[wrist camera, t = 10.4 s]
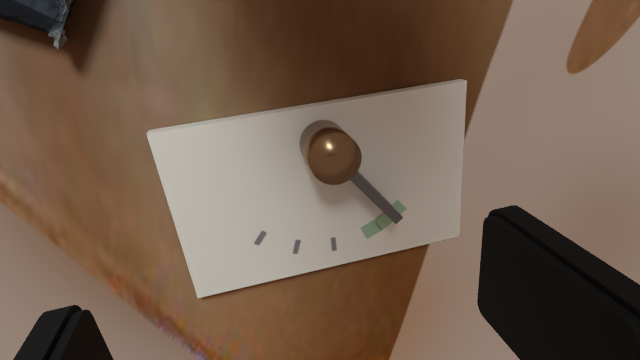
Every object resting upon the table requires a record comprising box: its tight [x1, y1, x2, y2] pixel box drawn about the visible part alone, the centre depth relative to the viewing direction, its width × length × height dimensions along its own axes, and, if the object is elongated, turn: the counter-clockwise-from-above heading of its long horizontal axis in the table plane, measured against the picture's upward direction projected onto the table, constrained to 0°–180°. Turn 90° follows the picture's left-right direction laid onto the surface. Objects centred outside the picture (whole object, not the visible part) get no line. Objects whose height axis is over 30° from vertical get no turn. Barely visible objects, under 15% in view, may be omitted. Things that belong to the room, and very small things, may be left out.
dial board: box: [147, 79, 467, 298], centre depth 39 cm, size 18×30×1 cm, turn 97°
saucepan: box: [299, 120, 403, 224], centre depth 36 cm, size 13×4×5 cm, turn 43°
